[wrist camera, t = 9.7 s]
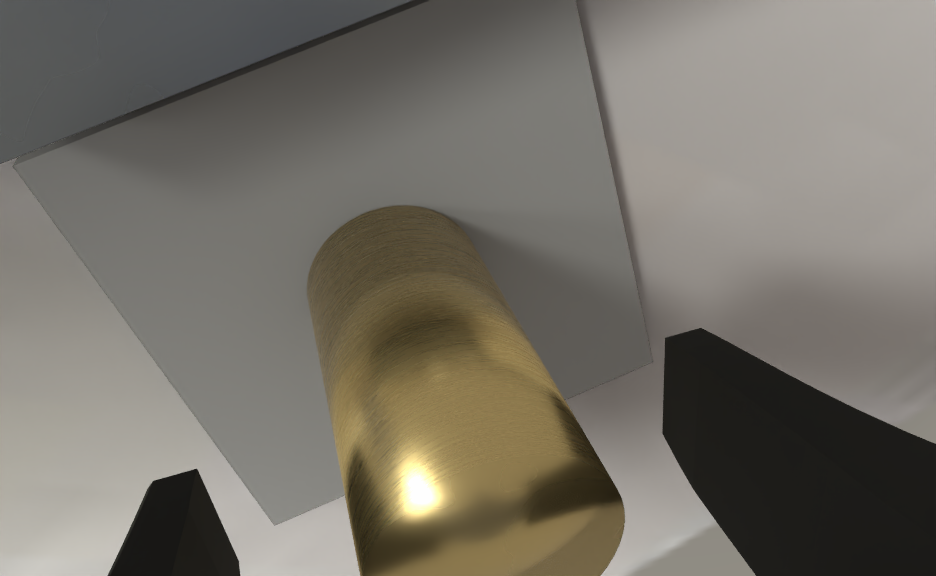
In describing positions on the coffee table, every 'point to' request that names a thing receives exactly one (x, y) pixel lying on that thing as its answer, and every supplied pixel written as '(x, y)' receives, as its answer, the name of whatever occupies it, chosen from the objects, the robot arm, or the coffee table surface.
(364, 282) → the gold metal cylinder
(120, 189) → the rubber mat
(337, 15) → the chuck block
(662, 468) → the coffee table surface
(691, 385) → the robot arm
